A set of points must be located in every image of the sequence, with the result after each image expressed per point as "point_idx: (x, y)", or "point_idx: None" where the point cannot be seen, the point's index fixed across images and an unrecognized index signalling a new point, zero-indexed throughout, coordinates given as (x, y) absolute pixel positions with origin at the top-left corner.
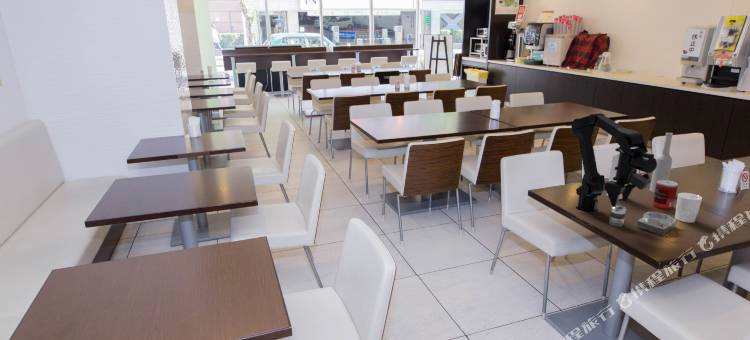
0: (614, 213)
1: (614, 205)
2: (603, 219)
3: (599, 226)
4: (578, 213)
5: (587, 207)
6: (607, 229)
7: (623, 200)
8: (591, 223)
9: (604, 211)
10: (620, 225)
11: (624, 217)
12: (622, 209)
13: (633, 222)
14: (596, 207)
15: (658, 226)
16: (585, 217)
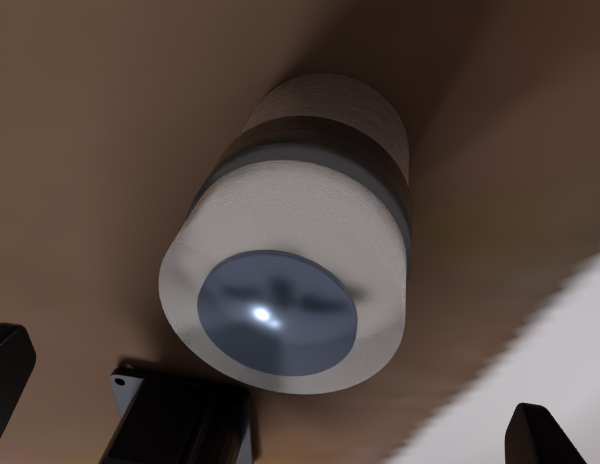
0: (407, 275)
1: (559, 442)
2: None
3: (551, 256)
4: (343, 436)
5: (224, 438)
6: (597, 169)
7: (34, 359)
8: (514, 327)
9: (105, 317)
10: (371, 94)
11: (305, 123)
12: (335, 248)
13: (92, 14)
14: (151, 393)
15: None
16: (391, 389)
